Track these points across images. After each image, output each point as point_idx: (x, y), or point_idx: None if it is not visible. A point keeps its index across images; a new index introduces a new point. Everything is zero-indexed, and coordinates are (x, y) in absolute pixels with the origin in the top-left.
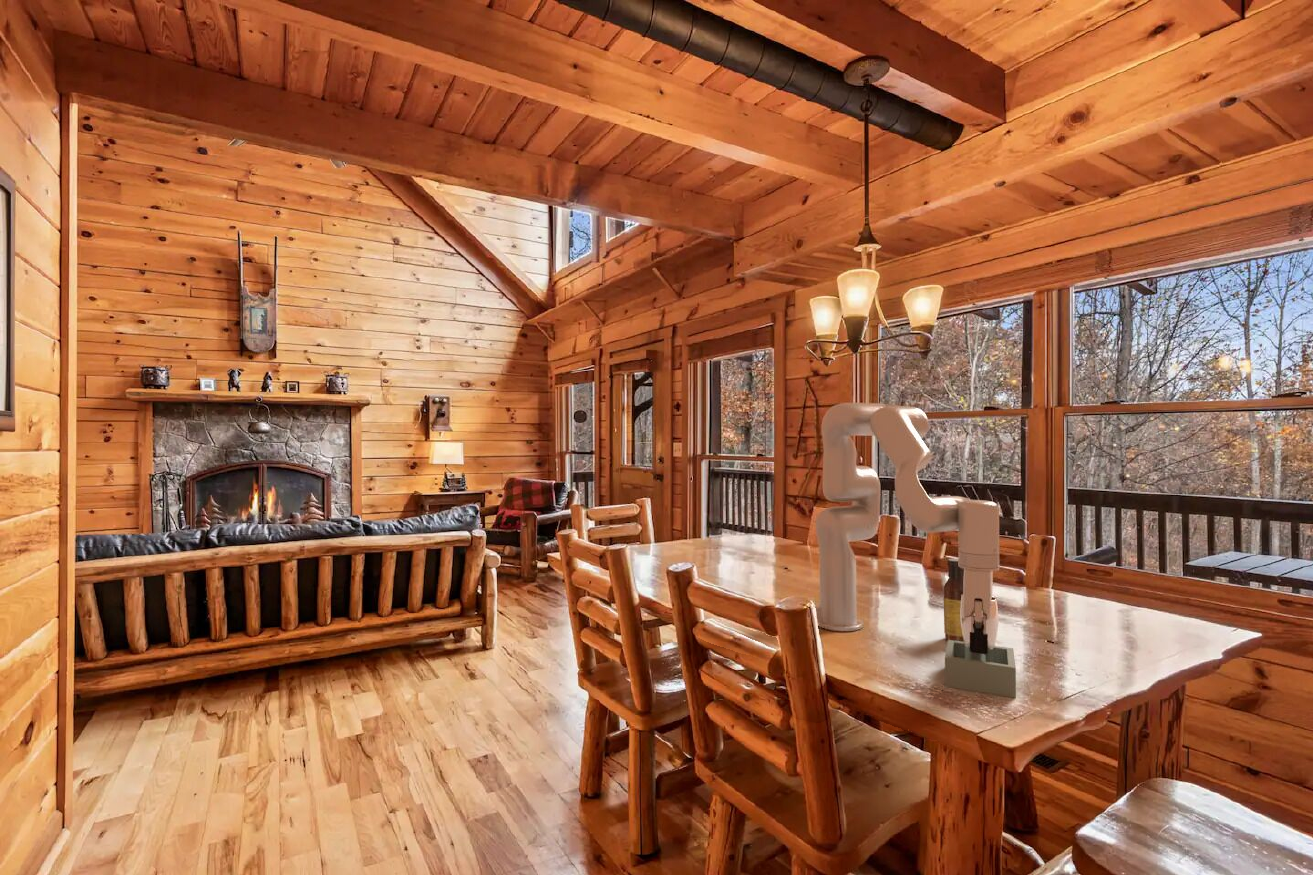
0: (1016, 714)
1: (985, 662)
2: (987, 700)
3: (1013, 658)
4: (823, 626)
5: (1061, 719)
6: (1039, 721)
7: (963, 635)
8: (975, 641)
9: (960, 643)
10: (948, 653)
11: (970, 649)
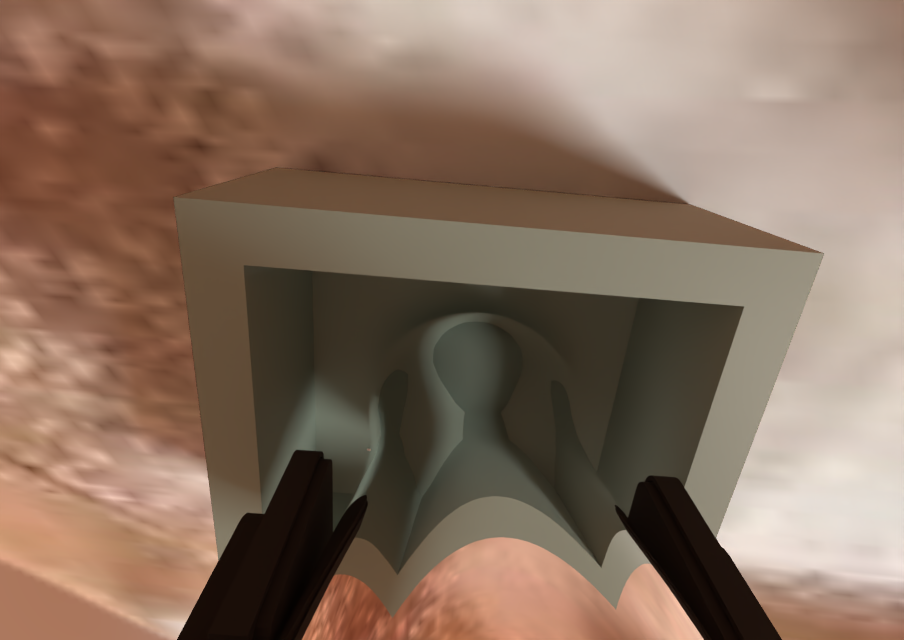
0: (81, 479)
1: (240, 504)
2: (183, 382)
3: None
4: None
5: (143, 609)
6: (64, 545)
7: (429, 485)
8: (214, 584)
9: (721, 360)
10: (336, 238)
11: (288, 463)
